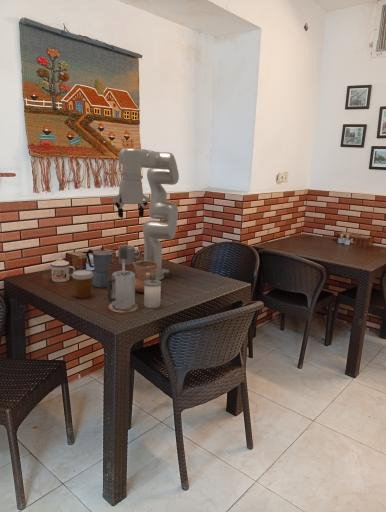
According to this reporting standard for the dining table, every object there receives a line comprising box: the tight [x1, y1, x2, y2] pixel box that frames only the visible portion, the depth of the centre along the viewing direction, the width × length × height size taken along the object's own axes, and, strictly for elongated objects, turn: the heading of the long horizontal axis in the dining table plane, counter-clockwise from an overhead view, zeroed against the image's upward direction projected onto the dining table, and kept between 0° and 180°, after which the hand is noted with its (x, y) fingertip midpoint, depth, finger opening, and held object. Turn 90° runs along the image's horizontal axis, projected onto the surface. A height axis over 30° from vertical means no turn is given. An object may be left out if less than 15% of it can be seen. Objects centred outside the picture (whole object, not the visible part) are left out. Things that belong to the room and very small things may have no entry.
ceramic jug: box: [133, 259, 158, 294], centre depth 195 cm, size 18×14×14 cm
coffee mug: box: [117, 244, 141, 266], centre depth 244 cm, size 13×10×10 cm
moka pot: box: [85, 246, 115, 288], centre depth 199 cm, size 10×15×20 cm, turn 78°
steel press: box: [106, 270, 136, 311], centre depth 171 cm, size 12×10×15 cm
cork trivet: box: [108, 302, 139, 313], centre depth 173 cm, size 13×13×1 cm
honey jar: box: [71, 269, 94, 299], centre depth 183 cm, size 10×10×12 cm
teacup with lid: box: [50, 257, 76, 283], centre depth 206 cm, size 12×9×12 cm
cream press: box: [143, 273, 162, 309], centre depth 175 cm, size 8×8×16 cm
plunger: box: [119, 245, 127, 275], centre depth 169 cm, size 3×3×18 cm
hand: (131, 217), depth 176 cm, fingers open, 9 cm apart
